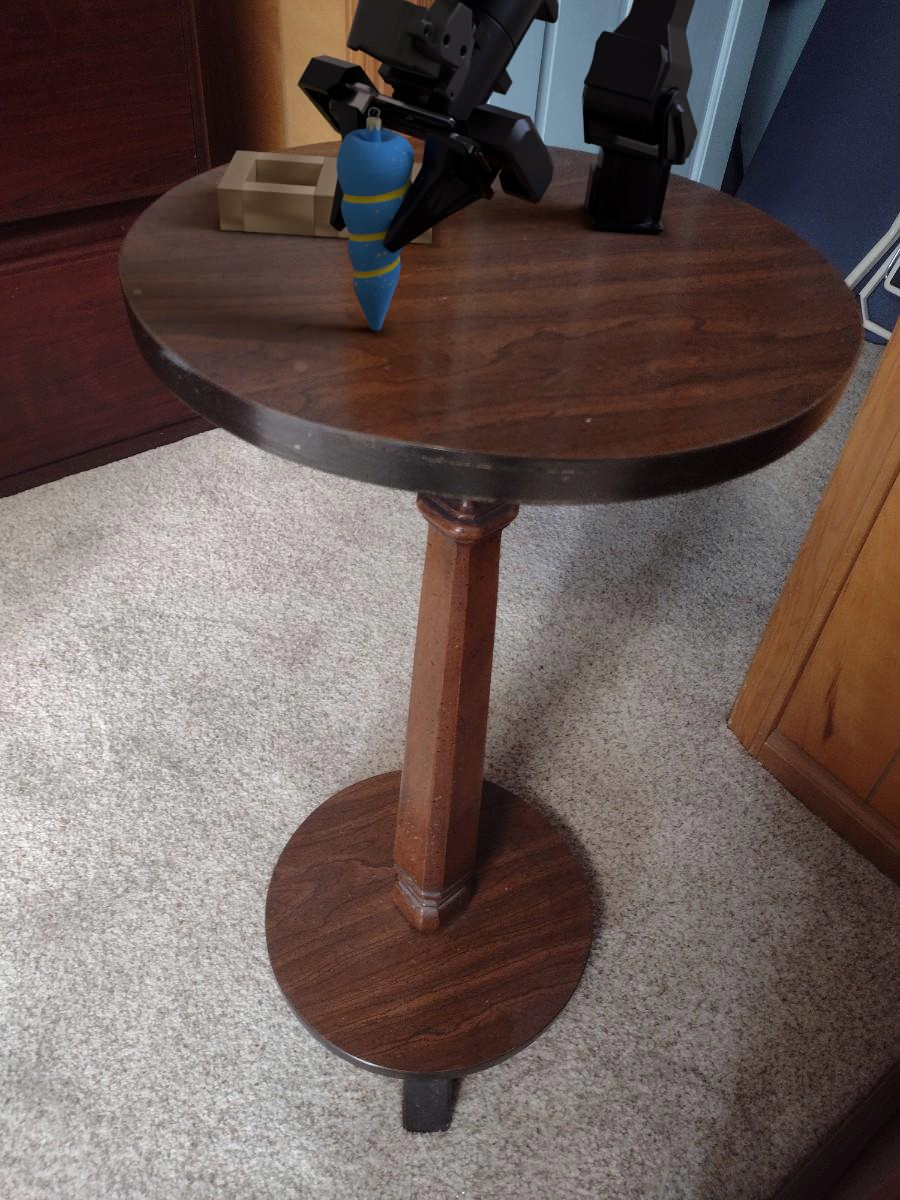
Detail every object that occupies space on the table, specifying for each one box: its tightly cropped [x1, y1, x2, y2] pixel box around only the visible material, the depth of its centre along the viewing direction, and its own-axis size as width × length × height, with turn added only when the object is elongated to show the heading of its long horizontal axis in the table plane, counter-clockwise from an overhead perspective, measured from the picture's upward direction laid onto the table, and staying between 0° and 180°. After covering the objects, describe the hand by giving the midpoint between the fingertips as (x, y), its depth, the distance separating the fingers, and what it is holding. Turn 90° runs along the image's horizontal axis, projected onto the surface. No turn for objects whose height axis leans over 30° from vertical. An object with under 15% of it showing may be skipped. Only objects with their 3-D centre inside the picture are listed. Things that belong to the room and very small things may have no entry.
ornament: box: [336, 107, 415, 332], centre depth 66 cm, size 5×5×15 cm
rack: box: [216, 150, 433, 245], centre depth 86 cm, size 18×10×4 cm, turn 90°
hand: (360, 238), depth 65 cm, fingers closed on ornament, 4 cm apart
